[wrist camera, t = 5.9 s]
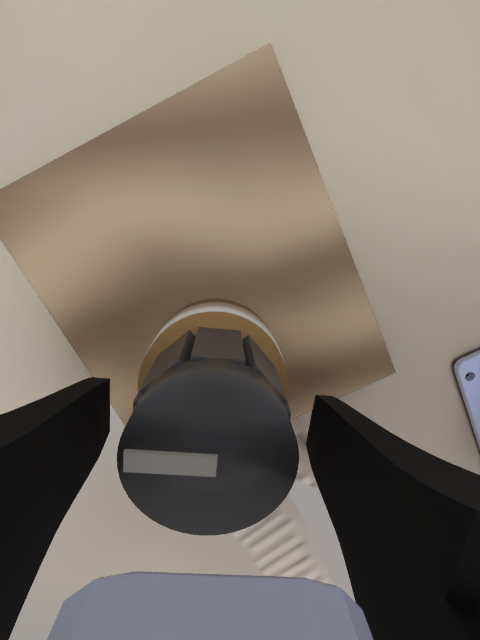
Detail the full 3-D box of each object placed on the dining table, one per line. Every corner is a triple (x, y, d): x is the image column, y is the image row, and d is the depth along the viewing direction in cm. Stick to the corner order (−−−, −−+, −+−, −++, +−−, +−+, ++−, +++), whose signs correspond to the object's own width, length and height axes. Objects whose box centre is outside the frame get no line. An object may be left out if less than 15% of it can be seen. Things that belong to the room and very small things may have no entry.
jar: (294, 381, 17) (321, 437, 12) (190, 428, 17) (178, 500, 13) (244, 275, 15) (253, 294, 11) (131, 331, 16) (93, 372, 11)
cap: (281, 334, 13) (313, 390, 8) (266, 442, 14) (286, 542, 9) (155, 323, 12) (116, 375, 8) (150, 434, 13) (114, 536, 9)
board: (390, 368, 18) (395, 372, 17) (161, 471, 19) (160, 477, 18) (269, 49, 14) (270, 42, 13) (-17, 203, 15) (-25, 202, 14)
